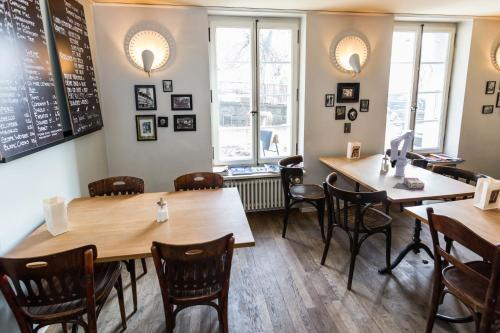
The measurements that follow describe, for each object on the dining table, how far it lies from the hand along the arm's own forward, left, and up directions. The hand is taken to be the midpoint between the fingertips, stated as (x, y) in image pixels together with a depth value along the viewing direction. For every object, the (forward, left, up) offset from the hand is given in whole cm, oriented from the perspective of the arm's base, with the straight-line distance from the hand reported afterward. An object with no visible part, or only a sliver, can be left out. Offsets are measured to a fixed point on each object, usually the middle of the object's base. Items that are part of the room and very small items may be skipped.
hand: (393, 167), depth 288 cm
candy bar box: (+8, +16, -8) cm, 19 cm away
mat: (+19, +15, -10) cm, 26 cm away
